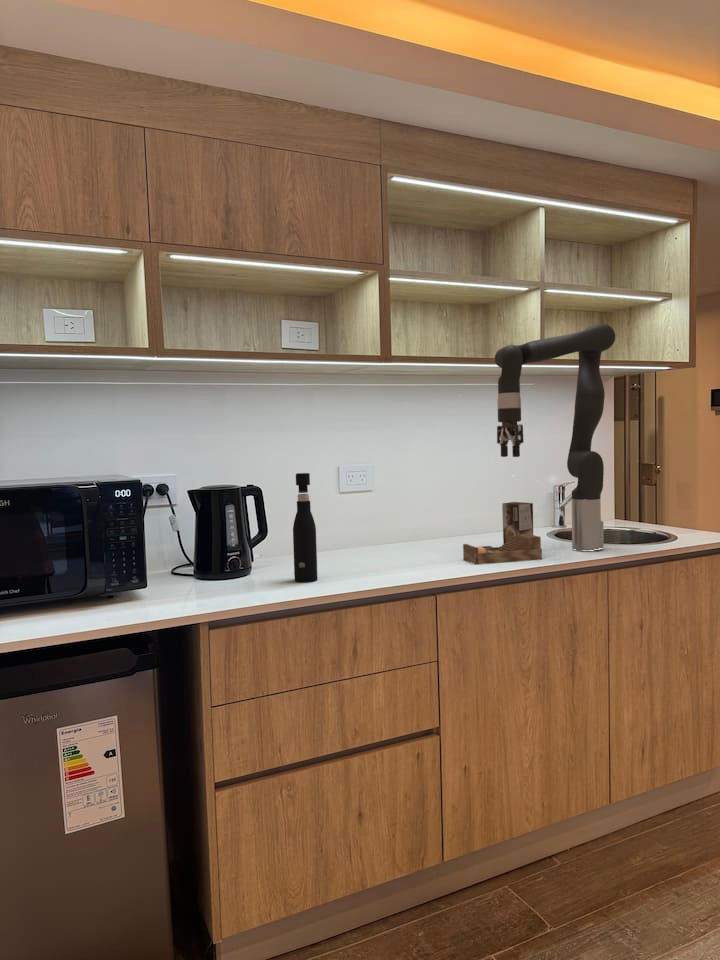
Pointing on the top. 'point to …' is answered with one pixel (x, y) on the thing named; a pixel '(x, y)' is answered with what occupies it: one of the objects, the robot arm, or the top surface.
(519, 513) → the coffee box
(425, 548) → the top surface
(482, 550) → the ball
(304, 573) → the black bottle
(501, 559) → the lane
